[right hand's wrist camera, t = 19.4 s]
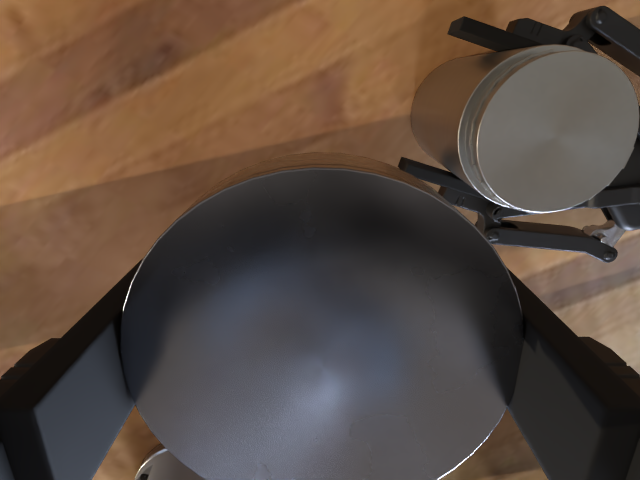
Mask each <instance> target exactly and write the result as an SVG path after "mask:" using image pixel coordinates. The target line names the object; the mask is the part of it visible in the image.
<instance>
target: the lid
mask: <svg viewBox="0 0 640 480" xmlns="http://www.w3.org/2000/svg"><path fill="white" fill-rule="evenodd" d="M523 344H524V326H523V314H522V310H521V306H520V302H519V298H518V294H517V291H516V288H515V286H514V284H513V281H512V279H511V276H510V274H509V272H508V269H507V268H506V266H505V264H504V263H503V261H502V260H501V258H500V256H499V255H498V253H497V252H496V250H495V248H494V247H493V246H492V245H491V243H490V242H489V241H488V240H487V239H486V238H485V236H484V235H483V234H482V233H481V232H480V231H479V230H478V228H477V227H476V226H475V225H474V224H472V223H471V222H470V221H469V220H468V219H467V218H466V217H465V216H464V215H462V214H461V213H460V212H459V211H458V210H457V209H456V208H455V207H454V206H452V205H451V204H450V203H449V202H448V201H447V200H446V199H444V198H443V197H442V196H441V195H440V194H439V193H437V192H436V191H435V190H434V189H433V188H432V187H430V186H429V185H427V184H425V183H424V182H422V181H421V180H419V179H418V178H416V177H414V176H413V175H411V174H409V173H407V172H405V171H402V170H400V169H398V168H396V167H394V166H392V165H389V164H386V163H383V162H380V161H376V160H373V159H370V158H366V157H361V156H355V155H349V154H343V153H318V152H314V153H304V154H295V155H287V156H283V157H279V158H275V159H271V160H267V161H263V162H261V163H258V164H256V165H253V166H251V167H248V168H246V169H243V170H241V171H239V172H237V173H235V174H234V175H232V176H230V177H228V178H226V179H225V180H223V181H221V182H220V183H218V184H217V185H216V186H214V187H213V188H212V189H210V190H209V191H208V192H206V193H205V194H204V195H203V196H201V197H200V198H199V199H198V200H197V201H196V202H195V203H194V204H193V205H192V206H191V207H189V208H188V209H187V210H186V211H185V212H184V213H183V214H182V215H181V216H180V217H179V218H178V219H177V220H176V221H175V222H174V223H173V224H172V225H171V226H170V227H169V228H168V229H167V230H166V231H165V232H164V233H163V234H162V235H161V236H160V237H159V238H158V239H157V240H156V242H155V243H154V245H153V246H152V247H151V249H150V250H149V252H148V253H147V254H146V256H145V257H144V258H143V260H142V262H141V264H140V266H139V268H138V270H137V272H136V274H135V276H134V278H133V280H132V281H131V284H130V287H129V290H128V294H127V297H126V300H125V303H124V307H123V313H122V320H121V326H120V353H121V359H122V365H123V372H124V376H125V379H126V382H127V385H128V388H129V392H130V395H131V397H132V399H133V401H134V403H135V405H136V407H137V409H138V411H139V413H140V415H141V417H142V418H143V420H144V421H145V423H146V424H147V426H148V427H149V429H150V430H151V432H152V433H153V434H154V435H155V437H156V438H157V439H158V440H159V441H160V442H161V443H162V445H163V446H164V447H165V448H166V449H167V450H168V451H169V452H170V453H171V454H172V455H173V456H175V457H176V458H177V459H178V460H179V461H180V462H181V463H182V464H184V465H185V466H186V467H188V468H189V469H191V470H192V471H193V472H195V473H196V474H198V475H199V476H200V477H202V478H204V479H206V480H438V479H440V478H441V477H443V476H444V475H446V474H447V473H449V472H450V471H452V470H454V469H455V468H456V467H457V466H459V465H460V464H461V463H462V462H463V461H465V460H466V459H467V458H468V457H469V456H471V455H472V454H473V453H474V452H475V451H476V450H477V448H478V447H479V446H480V445H481V444H482V443H483V442H484V441H485V440H486V439H487V438H488V436H489V435H490V434H491V432H492V431H493V430H494V428H495V427H496V426H497V424H498V423H499V422H500V420H501V418H502V416H503V414H504V413H505V411H506V409H507V407H508V405H509V404H510V401H511V399H512V396H513V394H514V390H515V386H516V381H517V375H518V370H519V365H520V360H521V355H522V349H523Z"/></svg>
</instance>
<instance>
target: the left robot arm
mask: <svg viewBox="0 0 640 480" xmlns="http://www.w3.org/2000/svg"><path fill="white" fill-rule="evenodd" d="M448 35H451V36H454V37H457V38H460V39H463V40H466V41H469V42H471V43H474V44H477V45H480V46H483V47H486V48H489V49H492V50H495V51H497V52H501V51H508V50H514V49H521V48H527V47H534V46H540V45H551V44H558V45H567V46H572V47H576V48H579V49H581V50H584V51H586V52H591V53H595V54H597V53H596V51H595V50H594V49H593V48H592V46H591V45H590V44H589V43H591V44H592V45H594V46H595V47H596V48H598V49H599V50H601V51H602V52H604V53H605V54H607V55H608V56H610V57H611V58H613V59H614V60H616V61H617V62H619V63H620V64H622V65H623V66H625V67H626V68H628V69H629V70H631V71H632V72H634V73H635V74H637V75H638V76H640V29H638V28H637V27H635V26H634V25H633V24H631V23H630V22H628V21H627V20H625V19H624V18H623V17H621V16H620V15H618V14H617V13H615V12H614V11H613V10H611V9H610V8H608V7H606V6H599V7H596V8H592V9H588V10H584V11H580V12H577V13H575V14H574V15H573V16H572V17H571V19H570V21H569V24H568V25H567V26H566V28H565V29H563V30H560V29H557V28H554V27H551V26H548V25H546V24H542V23H540V22H537V21H534V20H532V19H529V18H524V19H517V20H514V21H511V22H509V24H508V27H507V29H506V31H504V30H502V29H499V28H496V27H493V26H490V25H487V24H485V23H482V22H479V21H476V20H473V19H470V18H468V17H465V16H464V17H462V18H460V19H457V20H455V21H453V22H452V23H451V26H450V28H449V31H448ZM588 42H589V43H588ZM398 167H399V168H400V170H402V171H405V172H407V173H409V174H411V175H413V176H414V177H416V178H418V179H421V180H424V181H428V182H431V183H434V184H437V185H440V186H441V187H440V189H439V192H438V193H439V194H440V195H441V196H442V197H443V198H444V199H446V200H447V201H448V202H449V203H450V204H451V205H454V206H458V207H461V208H464V209H467V210H471V211H474V212H477V213H478V221H477V222H476V224H475V226H476V227H477V228H478V230H479V231H480V232H481V233H482V234H483V235H484V236H485V238H486V239H487V240H488V241H489V242H490V243H491V244H497V245H507V246H518V247H529V248H539V249H550V250H560V251H571V252H582V253H587V254H589V255H591V256H593V257H595V258H597V259H599V260H601V261H603V262H606V263H608V262H612V261H613V260H615V259H616V257H617V254H618V252H617V250H616V249H615V248H613V246H614V245H615V244H616V242H617V241H618V240H619V239H620V237H621V236H622V235H623V233H624V232H625V231H626V230H627V231H631V230H637V229H640V106H639V128H638V133H637V138H636V141H635V144H634V149H633V151H632V153H631V155H630V157H629V159H628V161H627V164H626V166H625V168H624V169H622V170H621V171H620V172H619V173H618V175H617V176H616V177H615V178H614V180H613V181H612V182H611V183H610V185H609V186H606V187H605V188H604V189H603V190H601V191H600V192H599V193H597V194H596V195H595V196H594V197H592V198H591V199H590V200H589V199H588V200H586V201H585V202H583V203H581V204H579V205H576V206H574V207H572V208H570V209H577V208H601V210H602V212H603V213H604V215H605V217H606V219H607V220H608V221H607V222H606V223H605V224H603V225H601V226H596V225H591V226H585V227H584V228H583V229H582V230H580V229H578V228H574V227H570V226H562V225H551V224H541V223H530V222H520V221H509V220H501V219H502V218H509V217H516V216H524V215H532V214H539V213H528V212H525V211H521V210H517V209H514V208H509V207H505V206H502V205H499V204H496V203H494V202H492V201H490V200H488V199H487V198H486V197H484V196H483V195H481V194H480V193H479V192H477V191H476V190H475V189H473V188H472V187H471V186H469V185H468V184H467V183H465V182H464V181H463V180H461V179H460V178H459V177H457V176H456V175H455V174H453V173H452V172H448V171H445V170H442V169H439V168H436V167H433V166H429V165H426V164H423V163H420V162H417V161H413V160H410V159H407V158H404V157H401V160H400V162H399V165H398ZM570 209H565V210H570ZM561 211H562V210H561Z"/></svg>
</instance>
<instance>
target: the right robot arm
mask: <svg viewBox="0 0 640 480" xmlns="http://www.w3.org/2000/svg"><path fill="white" fill-rule="evenodd" d="M142 260H143V259H142ZM142 260H141V261H140V262H139V263H138V264H137V265H136V266H135V267H133V268H132V269H131V270H130V271H129V272H128V273H127V274H126V275H125V276H124V277H123V278H122V279H121V280H120V281H119V282H118V283H117V284H116V285H115V286H114V287H113V288H112V289H111V290H110V291H109V292H108V293H107V294H106V295H105V296H104V297H103V298H102V299H101V300H100V301H99V302H98V303H96V304H95V305H94V306H93V307H92V308H91V309H90V310H89V311H88V312H87V313H86V314H85V315H84V316H83V317H82V318H81V319H80V320H79V321H78V322H77V323H76V324H75V325H74V326H73V327H72V328H71V329H70V330H69V331H68V332H67V333H66V334H65V335H64V336H63V337H62V338H51V339H49V340H48V341H46V342H44V343H42V344H40V345H39V346H37V347H35V348H33V349H32V350H30V351H29V352H28V353H27V354H25V355H24V356H23V357H22V358H21V359H20V360H19V361H18V362H17V363H16V364H14V367H11V368H10V369H9V370H8V371H7V372H6V373H5V374H4V375H2V376H1V380H0V480H92V478H93V477H94V475H95V473H96V471H97V470H98V468H99V466H100V464H101V463H102V461H103V459H104V458H105V456H106V454H107V452H108V451H109V449H110V447H111V446H112V444H113V442H114V440H115V439H116V437H117V435H118V433H119V432H120V430H121V428H122V427H123V425H124V423H125V421H126V420H127V418H128V416H129V414H130V413H131V411H132V409H133V408H134V406H135V403H134V401H133V399H132V397H131V395H130V392H129V388H128V385H127V382H126V379H125V376H124V372H123V365H122V359H121V353H120V326H121V320H122V313H123V307H124V303H125V300H126V297H127V294H128V290H129V287H130V284H131V281H132V280H133V278H134V276H135V274H136V272H137V270H138V268H139V266H140V264H141V262H142ZM506 268H507V267H506ZM507 269H508V268H507ZM508 272H509V274H510V276H511V279H512V281H513V284H514V286H515V288H516V291H517V294H518V298H519V302H520V306H521V310H522V314H523V326H524V344H523V349H522V355H521V360H520V365H519V370H518V375H517V381H516V386H515V390H514V394H513V396H512V399H511V401H510V404H509V405H508V407H507V409H508V411H509V412H510V414H511V416H512V417H513V419H514V421H515V423H516V424H517V426H518V428H519V430H520V431H521V433H522V435H523V436H524V438H525V440H526V442H527V443H528V445H529V447H530V448H531V450H532V452H533V454H534V455H535V457H536V459H537V461H538V462H539V464H540V466H541V467H542V469H543V471H544V473H545V474H546V476H547V478H548V480H640V375H639V374H638V373H637V372H636V371H635V370H633V369H632V368H631V367H630V366H627V365H626V362H625V361H624V360H622V359H621V358H620V357H619V356H618V355H617V354H616V353H615V352H614V351H612V350H611V349H610V348H608V347H606V346H605V345H603V344H601V343H599V342H597V341H596V340H594V339H592V338H590V337H578V336H577V335H576V334H575V333H574V332H573V331H572V330H571V329H569V328H568V327H567V326H566V325H565V324H564V323H563V322H562V321H561V320H560V319H559V318H558V317H557V316H556V315H555V314H554V313H553V312H552V311H551V310H550V309H549V308H548V307H547V306H546V305H545V304H544V303H543V302H542V301H541V300H540V299H539V298H538V297H537V296H536V295H535V294H534V293H532V292H531V291H530V290H529V289H528V288H527V287H526V286H525V285H524V284H523V283H522V282H521V281H520V280H519V279H518V278H517V277H516V276H515V275H514V274H513V273H512V272H511V271H510V270H509V269H508ZM135 480H206V479H204V478H202V477H200V476H199V475H198V474H196V473H195V472H193V471H192V470H191V469H189V468H188V467H186V466H185V465H184V464H182V463H181V462H180V461H179V460H178V459H177V458H176V457H175V456H173V455H172V454H171V453H170V452H169V451H168V450H167V449H166V448H165V447H164V446H163V445H162V444H160V445H158V446H157V447H155V448H154V449H153V450H151V451H150V452H149V453H148V455H147V456H146V457H145V459H144V460H143V462H142V464H141V466H140V468H139V470H138V472H137V474H136V477H135Z"/></svg>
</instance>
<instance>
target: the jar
mask: <svg viewBox="0 0 640 480" xmlns="http://www.w3.org/2000/svg"><path fill="white" fill-rule="evenodd" d="M411 125H412V130H413V134H414V136H415V139H416V141H417V142H418V144H419V146H420V147H421V148H422V149H423V150H424V151H425V152H426V153H427V154H428V155H429V156H431V157H432V158H433V159H435V160H436V161H437V162H439V163H440V164H441V165H443V166H444V167H445V168H447V169H448V170H449V171H451V172H452V173H453V174H455V175H456V176H457V177H459V178H460V179H461V180H463V181H464V182H465V183H467V184H468V185H469V186H471V187H472V188H473V189H475V190H476V191H477V192H479V193H480V194H481V195H483V196H484V197H486V198H487V199H488V200H490V201H492V202H494V203H496V204H499V205H502V206H505V207H509V208H514V209H517V210H521V211H525V212H528V213H552V212H556V211H561V210H565V209H570V208H572V207H574V206H576V205H579V204H581V203H583V202H585V201H586V200H588V199H589V200H590V199H591V198H592V197H594V196H595V195H596V194H597V193H599V192H600V191H601V190H603V189H604V188H605V187H606V186H609V185H610V183H611V182H612V181H613V180H614V178H615V177H616V176H617V175H618V173H619V172H620V171H621V170H622V169H624V168H625V166H626V164H627V161H628V159H629V157H630V155H631V153H632V151H633V149H634V144H635V141H636V138H637V133H638V128H639V105H638V100H637V95H636V93H635V90H634V88H633V85H632V84H631V82H630V80H629V78H628V77H627V76H626V75H625V73H624V72H623V71H622V70H621V69H620V68H619V67H618V66H617V65H616V64H614V63H613V62H612V61H610V60H608V59H607V58H605V57H602V56H600V55H598V54H595V53H591V52H586V51H584V50H581V49H579V48H576V47H572V46H567V45H558V44H551V45H540V46H534V47H527V48H521V49H514V50H508V51H501V52H495V53H488V54H482V55H475V56H469V57H462V58H457V59H454V60H451V61H448V62H446V63H444V64H442V65H440V66H439V67H437V68H436V69H435V70H433V71H432V72H431V73H430V74H429V75H428V76H427V77H426V78H425V79H424V81H423V82H422V84H421V85H420V87H419V89H418V90H417V92H416V95H415V97H414V100H413V104H412V109H411Z"/></svg>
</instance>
